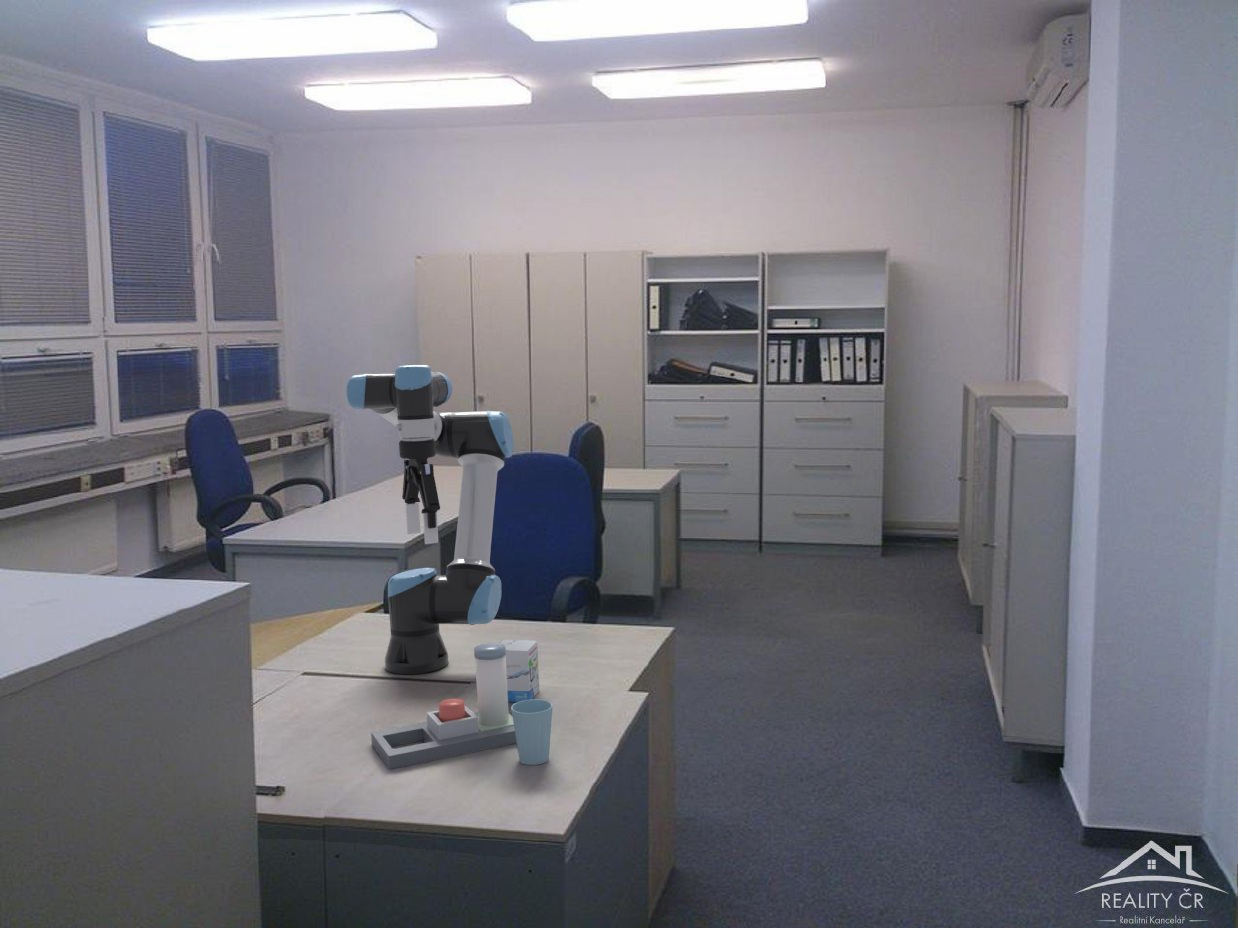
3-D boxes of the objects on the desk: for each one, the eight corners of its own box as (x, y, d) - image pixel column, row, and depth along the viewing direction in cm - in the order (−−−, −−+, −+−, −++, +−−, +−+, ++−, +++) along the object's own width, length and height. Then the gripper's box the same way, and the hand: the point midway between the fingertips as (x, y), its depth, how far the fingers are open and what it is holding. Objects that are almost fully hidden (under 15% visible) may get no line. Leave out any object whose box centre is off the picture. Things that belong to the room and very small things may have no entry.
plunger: (436, 725, 217) (435, 701, 217) (461, 721, 220) (459, 697, 219) (444, 733, 213) (442, 708, 212) (469, 729, 215) (467, 704, 214)
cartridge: (474, 718, 221) (469, 646, 220) (503, 712, 224) (499, 641, 222) (484, 728, 216) (480, 654, 214) (513, 722, 219) (510, 648, 217)
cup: (505, 759, 207) (503, 705, 206) (538, 748, 212) (536, 696, 210) (529, 770, 201) (526, 715, 200) (562, 759, 206) (560, 705, 205)
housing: (371, 744, 217) (370, 717, 216) (501, 719, 228) (500, 693, 228) (389, 768, 204) (387, 740, 203) (525, 740, 216) (524, 713, 215)
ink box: (529, 703, 238) (527, 650, 236) (492, 701, 240) (489, 649, 238) (540, 690, 246) (538, 639, 245) (503, 688, 248) (501, 638, 246)
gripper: (384, 435, 241) (390, 531, 244) (415, 444, 219) (421, 549, 221) (418, 433, 244) (423, 527, 247) (451, 442, 222) (457, 545, 225)
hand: (422, 538), depth 234 cm, fingers open, 13 cm apart
